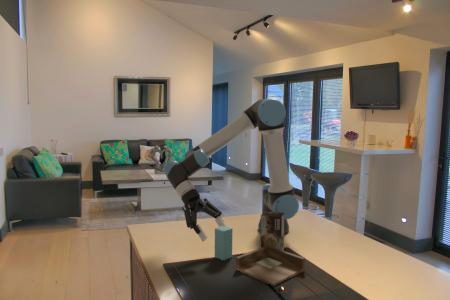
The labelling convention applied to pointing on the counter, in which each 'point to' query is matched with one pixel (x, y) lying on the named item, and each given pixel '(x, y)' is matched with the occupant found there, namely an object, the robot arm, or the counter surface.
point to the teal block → (223, 242)
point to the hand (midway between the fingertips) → (215, 235)
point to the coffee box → (272, 229)
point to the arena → (270, 264)
